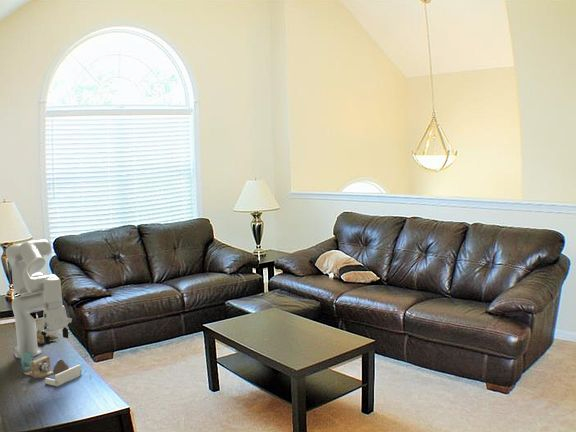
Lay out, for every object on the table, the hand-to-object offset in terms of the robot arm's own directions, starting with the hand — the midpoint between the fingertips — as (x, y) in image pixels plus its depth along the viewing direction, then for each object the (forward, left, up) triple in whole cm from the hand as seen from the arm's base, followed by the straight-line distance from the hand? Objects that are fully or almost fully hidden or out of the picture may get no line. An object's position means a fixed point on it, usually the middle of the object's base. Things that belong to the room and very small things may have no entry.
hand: (56, 340), depth 264 cm
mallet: (-16, 0, -17) cm, 23 cm away
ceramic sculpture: (-54, +34, -18) cm, 66 cm away
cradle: (+3, 0, -18) cm, 18 cm away
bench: (-15, 0, -18) cm, 23 cm away
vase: (+1, 0, -18) cm, 18 cm away
